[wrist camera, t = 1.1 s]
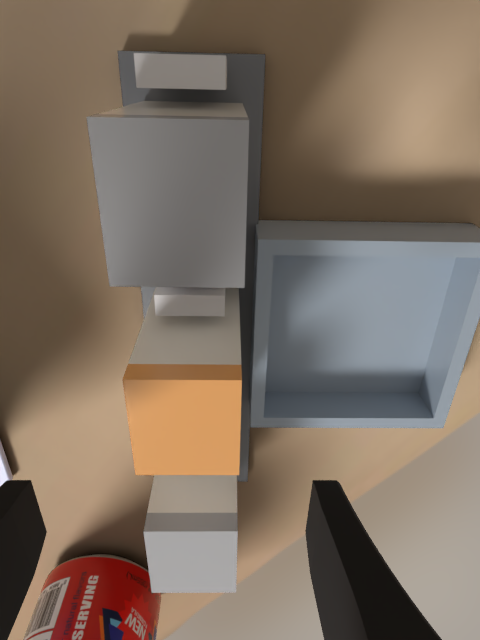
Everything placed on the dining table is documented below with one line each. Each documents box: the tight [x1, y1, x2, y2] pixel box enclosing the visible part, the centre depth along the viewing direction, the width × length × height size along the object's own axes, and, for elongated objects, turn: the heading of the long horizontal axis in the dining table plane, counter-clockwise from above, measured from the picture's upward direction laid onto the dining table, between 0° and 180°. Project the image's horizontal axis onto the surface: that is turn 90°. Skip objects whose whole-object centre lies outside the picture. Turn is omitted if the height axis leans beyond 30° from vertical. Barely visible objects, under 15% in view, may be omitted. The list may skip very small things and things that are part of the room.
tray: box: [249, 220, 480, 428], centre depth 20 cm, size 9×9×2 cm
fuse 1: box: [87, 101, 249, 288], centre depth 13 cm, size 4×4×7 cm
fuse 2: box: [143, 475, 238, 593], centre depth 20 cm, size 4×4×7 cm
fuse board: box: [118, 51, 265, 481], centre depth 18 cm, size 5×21×5 cm, turn 179°
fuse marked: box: [123, 287, 242, 475], centre depth 17 cm, size 4×4×7 cm
